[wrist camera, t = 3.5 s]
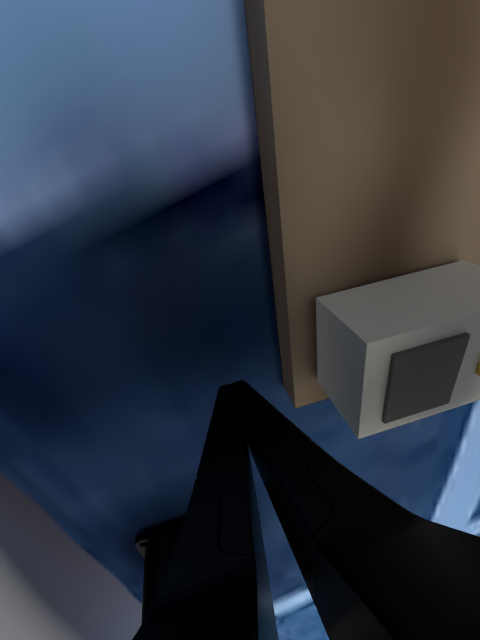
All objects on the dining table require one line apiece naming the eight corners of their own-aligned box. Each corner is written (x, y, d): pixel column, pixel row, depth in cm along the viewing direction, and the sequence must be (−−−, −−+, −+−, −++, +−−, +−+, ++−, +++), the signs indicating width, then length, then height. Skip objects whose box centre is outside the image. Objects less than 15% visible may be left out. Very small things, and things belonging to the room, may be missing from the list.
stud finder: (317, 380, 12) (360, 442, 10) (315, 297, 10) (370, 346, 7) (441, 344, 13) (513, 392, 10) (463, 260, 11) (561, 292, 8)
